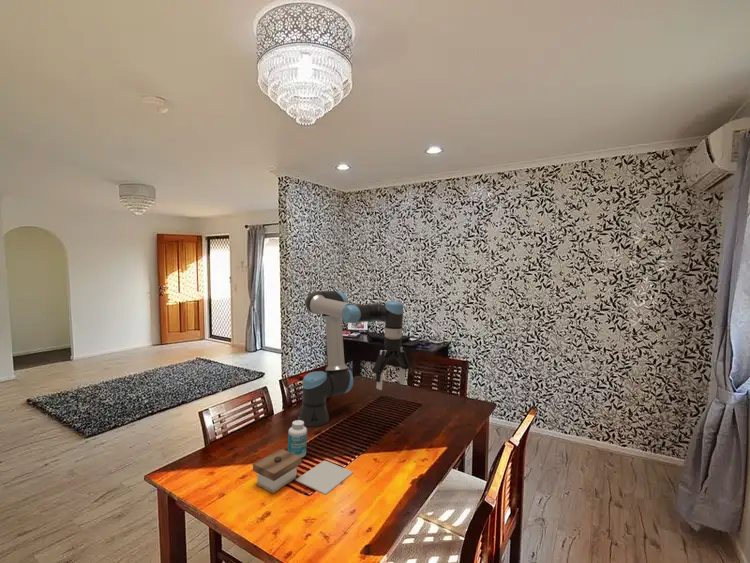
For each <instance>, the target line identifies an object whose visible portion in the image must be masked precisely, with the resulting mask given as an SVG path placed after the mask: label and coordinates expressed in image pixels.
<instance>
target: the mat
mask: <svg viewBox="0 0 750 563" xmlns="http://www.w3.org/2000/svg"><path fill="white" fill-rule="evenodd" d="M353 474H354V471H351V470H350V469H346V468H344V467H343V466H339V465H337V464H335V463H332V462H330V461H327V460H322V461H321V462H320V463H318V464H317V465H315V466H314V467H312V468H311V469H310V470H307V471H306V472H304V474H302V475H300V476H299V477H296V478H295V481H296V482H298V483H300V484H302V485H304V486H306V487H308V488H309V489H310V488H311V489H312V490H315V491H317V492H319V493H321V494H323V495H328V494H329V493H330V492H331V491H332V490H334V489H335V488H336V487H338V486H339V485H340V484H341V483H342V482H344V481H346V479H348V478H349V477H350V476H352V475H353Z"/></svg>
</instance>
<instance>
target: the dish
mask: <svg viewBox="0 0 750 563" xmlns="http://www.w3.org/2000/svg"><path fill="white" fill-rule="evenodd" d="M297 468H298V466H297V467H296V468H294V469H293V470H291V471H289V472H288V473H286V474H285V475H283V476H281V477H280V478H278V479H277V480H275V481H272V480H270V479H268V478H266V477H264V476H262V475H260V474H258V473H257V477H256V478H257V479H256V480H257V482H256V485H257V486H258V487H260V488H262V489H264V490H266V491H269V493H272V494H274V493H275V492H277V491H279V489H282V488H283V487H285V486H286V485H288V484H289V483H290V482H292V481H293V480H296V479H297V473H298V471H297V470H298V469H297Z"/></svg>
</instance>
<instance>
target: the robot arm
mask: <svg viewBox="0 0 750 563" xmlns="http://www.w3.org/2000/svg"><path fill="white" fill-rule="evenodd" d="M347 298H348V297H347V296H346V294H345V293H343V292H342V291H338V290H327V291H326V290H325V291H319V290H318V291H313V292H311V293H309V294H308V295H307V296H306V299H305V301H304V306H305V308H306V310H307V311H308V312H309V313H312V314H315V315H321V317H322V318H323V319H324V320H325V321H324V322H325V333H326V335H325V337H326V351H327V352H326V353H327V367H325V371H322V370H318V371H312V372H308V373H306V374H305V375H304V377H303V379H302V400H301V401H302V403H301V407H300V410H299V414H298V416H297V417H298V418H297V420H301V421H304V426H305V427H319V426H323V425H326V424H327V423H328V422H329V420H330V415H329V412H328V408H327V398H330V397H334V396H335V397H336V396H339V395H344V394H346V393H349V392H350V391H351V390H352V389H353V385H354V376H353V374H352V371H350V370H349V368H348V366H347V365H346V364H345V353H344V352H345V350H344V338H343V324H342V323H343V322H342V321H344V323H347V324H356V323H366V322H367V323H368V322H377V321H378V322H383V323H384V339H383V342H384V343H383V346H384V350H382V349H379V350H378V356H377V358H376V361H375V362H374V365H373V369H372V371H371V373H372V374H375V381H376V386H375V388H376V389H377V390H378V391H379V390H380V391H382V390H383V377H384V376H383V375H384V374H382V373H383V371H384V370H385V368H386V367H387V365H388V363H389V362H390V361H392V360H396V362H398V363H397V364H399V366H400V367H399V374H398V376H399V378H398V380H399V381H398V382H399V384H402V385H405V384H406V375H407V370H408V369H409V367H410V362H409V358H408V356H407V351H406V347H404V346H402V343H403V342H402V341H403V339H402V337H403V318H404V304H403V302H401V301H394V300H393V301H390V300H388V301H386V303H385V304H382V303H378V302H371V303H369V304H354V303H350V302H349V301H348V299H347Z"/></svg>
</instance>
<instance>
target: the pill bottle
mask: <svg viewBox="0 0 750 563" xmlns="http://www.w3.org/2000/svg"><path fill="white" fill-rule="evenodd" d="M287 434H288V435H287V437H288V438H287V451H288V452H290V453H293V454H295V455H297V456H300V457H302V458H304V457H305V456H306V455H307V443H308V440H307V439H308V428H307V426H304V421H301V420H298V419H297V420H294V421H292V423H291V427H289V428H288V433H287Z"/></svg>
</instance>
